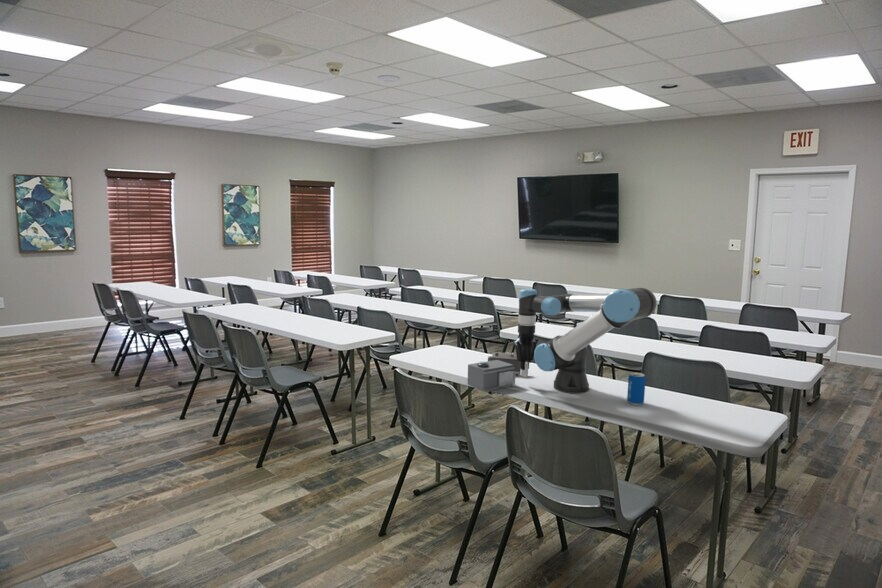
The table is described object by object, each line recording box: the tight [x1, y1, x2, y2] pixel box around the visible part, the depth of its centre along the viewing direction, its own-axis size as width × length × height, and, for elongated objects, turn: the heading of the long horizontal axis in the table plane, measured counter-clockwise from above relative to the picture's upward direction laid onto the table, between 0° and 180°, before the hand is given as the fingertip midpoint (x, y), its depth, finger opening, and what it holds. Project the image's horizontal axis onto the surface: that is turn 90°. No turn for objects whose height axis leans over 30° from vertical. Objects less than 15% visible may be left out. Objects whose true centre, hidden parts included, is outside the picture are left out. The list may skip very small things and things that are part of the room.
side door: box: [498, 370, 517, 387], centre depth 246 cm, size 3×7×6 cm, turn 125°
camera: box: [487, 351, 521, 376], centre depth 272 cm, size 9×16×10 cm, turn 85°
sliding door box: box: [467, 360, 515, 392], centre depth 250 cm, size 12×17×11 cm
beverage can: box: [626, 372, 647, 406], centre depth 228 cm, size 6×6×12 cm
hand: (524, 376), depth 250 cm, fingers closed
